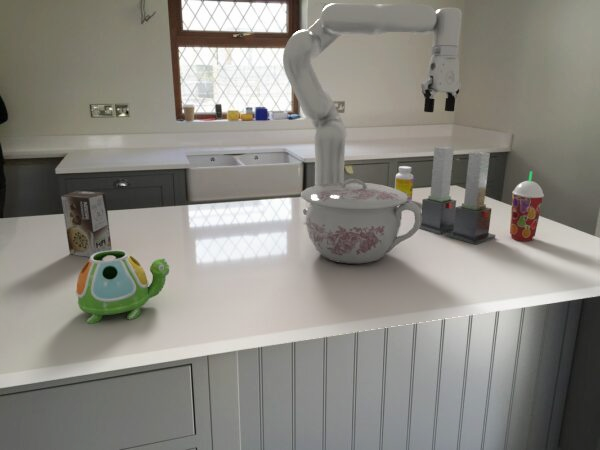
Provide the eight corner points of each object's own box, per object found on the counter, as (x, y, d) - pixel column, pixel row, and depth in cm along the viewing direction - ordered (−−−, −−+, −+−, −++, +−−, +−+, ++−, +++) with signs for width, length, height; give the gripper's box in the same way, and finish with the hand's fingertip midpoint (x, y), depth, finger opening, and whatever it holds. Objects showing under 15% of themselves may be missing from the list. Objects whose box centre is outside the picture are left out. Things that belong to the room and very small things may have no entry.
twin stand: (475, 244, 142) (485, 156, 135) (445, 236, 149) (453, 152, 142) (494, 238, 148) (505, 153, 140) (465, 230, 155) (474, 149, 148)
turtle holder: (177, 312, 100) (173, 257, 97) (79, 330, 93) (71, 271, 90) (166, 289, 111) (163, 238, 108) (78, 303, 104) (71, 249, 101)
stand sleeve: (440, 234, 151) (443, 205, 148) (414, 226, 158) (416, 199, 156) (459, 228, 157) (462, 200, 154) (433, 221, 164) (436, 194, 162)
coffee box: (113, 250, 135) (106, 192, 130) (96, 258, 129) (89, 198, 125) (85, 247, 138) (78, 189, 133) (68, 254, 132) (60, 195, 127)
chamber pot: (284, 245, 140) (284, 172, 134) (369, 234, 150) (372, 166, 144) (329, 283, 115) (331, 195, 109) (427, 266, 126) (434, 185, 120)
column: (440, 208, 152) (445, 149, 147) (427, 205, 156) (432, 147, 151) (450, 206, 155) (455, 147, 150) (437, 202, 159) (442, 146, 153)
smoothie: (537, 236, 150) (547, 170, 144) (537, 244, 142) (547, 175, 136) (507, 232, 153) (515, 168, 147) (505, 240, 146) (514, 172, 140)
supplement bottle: (411, 203, 188) (414, 169, 184) (393, 202, 189) (396, 168, 185) (411, 198, 194) (414, 166, 190) (394, 198, 195) (396, 165, 191)
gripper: (435, 51, 142) (430, 113, 147) (473, 53, 151) (466, 111, 156) (415, 52, 147) (410, 111, 152) (453, 54, 157) (447, 110, 162)
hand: (439, 111), depth 154 cm, fingers open, 9 cm apart
